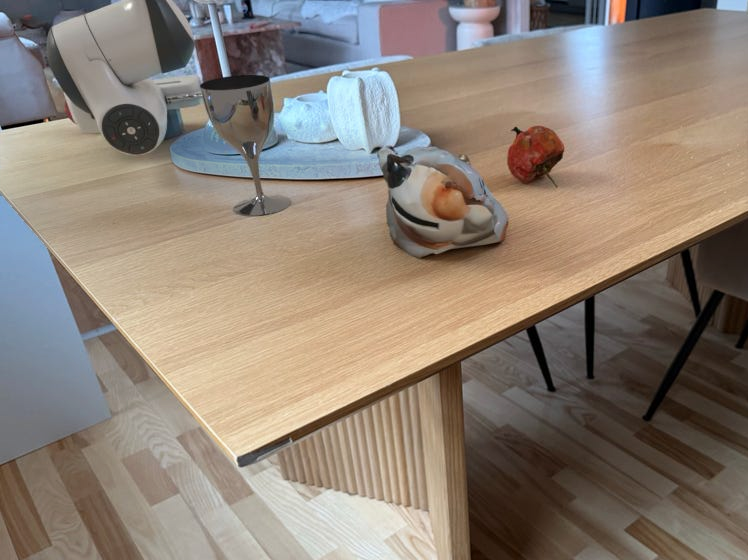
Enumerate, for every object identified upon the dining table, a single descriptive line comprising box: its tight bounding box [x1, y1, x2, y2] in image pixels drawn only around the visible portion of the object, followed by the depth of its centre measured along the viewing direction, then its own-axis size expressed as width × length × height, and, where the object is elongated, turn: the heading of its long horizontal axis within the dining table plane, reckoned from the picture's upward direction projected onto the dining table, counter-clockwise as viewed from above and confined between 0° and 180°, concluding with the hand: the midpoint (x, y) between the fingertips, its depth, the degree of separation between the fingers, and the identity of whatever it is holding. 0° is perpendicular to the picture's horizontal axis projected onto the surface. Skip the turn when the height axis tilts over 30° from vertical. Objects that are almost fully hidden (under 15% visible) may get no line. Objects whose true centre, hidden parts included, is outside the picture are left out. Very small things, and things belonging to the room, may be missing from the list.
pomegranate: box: [506, 125, 565, 188], centre depth 91 cm, size 7×7×10 cm
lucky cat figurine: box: [376, 145, 510, 259], centre depth 73 cm, size 15×12×14 cm
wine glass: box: [200, 74, 292, 217], centre depth 85 cm, size 8×8×15 cm
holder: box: [163, 108, 186, 141], centre depth 119 cm, size 11×11×4 cm
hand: (138, 87), depth 117 cm, fingers closed on lighter, 4 cm apart
